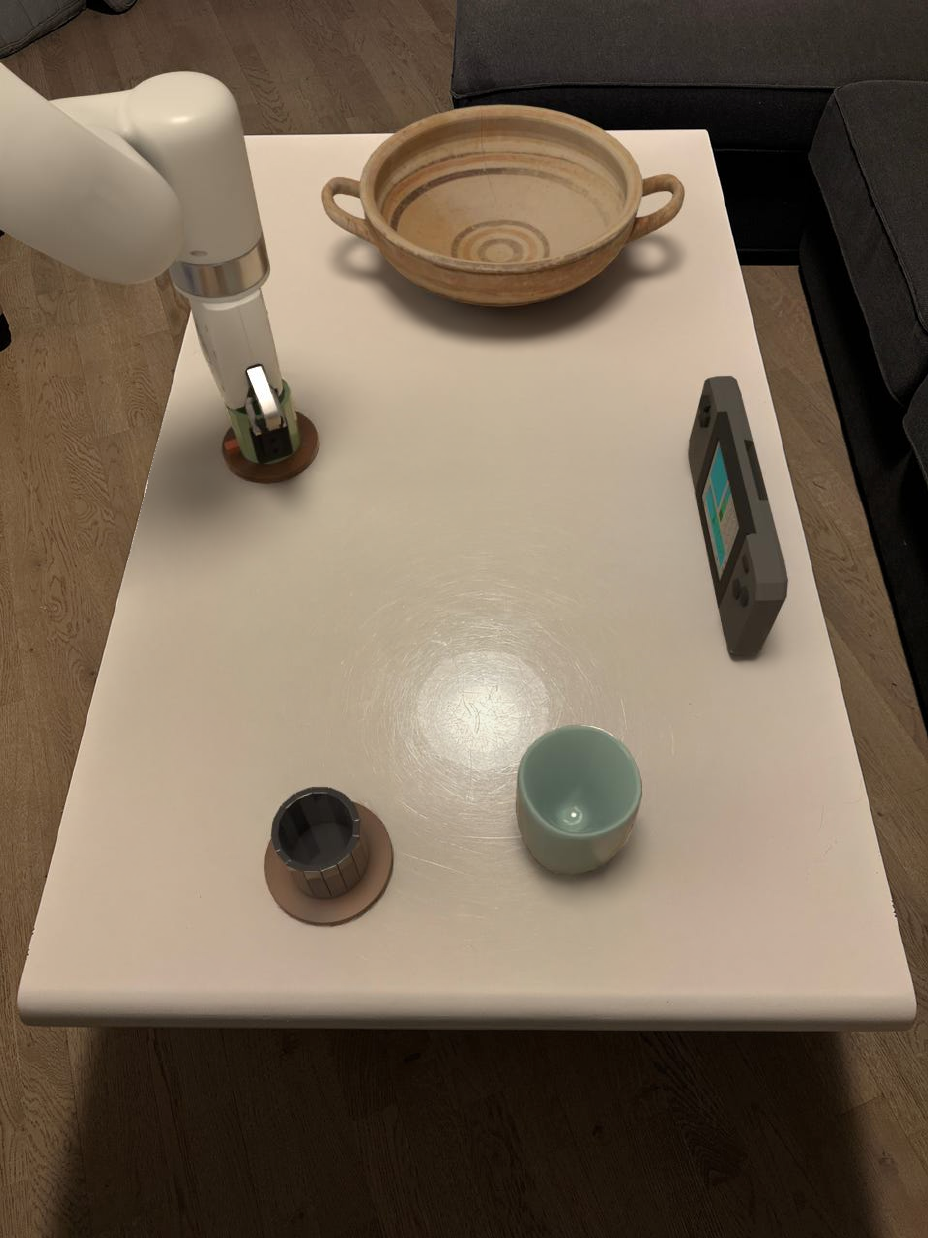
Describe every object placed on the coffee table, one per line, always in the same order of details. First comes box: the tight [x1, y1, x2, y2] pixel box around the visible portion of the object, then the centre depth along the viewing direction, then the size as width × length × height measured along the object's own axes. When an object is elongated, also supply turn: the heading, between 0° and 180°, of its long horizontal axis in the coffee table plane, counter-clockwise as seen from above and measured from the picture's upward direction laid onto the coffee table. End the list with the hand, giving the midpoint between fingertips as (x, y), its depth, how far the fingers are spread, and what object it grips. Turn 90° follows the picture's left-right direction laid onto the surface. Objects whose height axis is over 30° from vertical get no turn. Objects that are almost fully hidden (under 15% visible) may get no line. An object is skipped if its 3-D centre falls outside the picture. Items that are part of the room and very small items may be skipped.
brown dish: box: [221, 410, 320, 484], centre depth 88 cm, size 9×9×1 cm
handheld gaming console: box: [688, 375, 789, 655], centre depth 77 cm, size 23×3×10 cm, turn 1°
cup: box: [515, 724, 643, 876], centre depth 63 cm, size 8×8×10 cm
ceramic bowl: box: [320, 103, 686, 307], centre depth 99 cm, size 37×29×10 cm
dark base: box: [263, 800, 394, 927], centre depth 66 cm, size 9×9×1 cm
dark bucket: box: [270, 786, 369, 899], centre depth 64 cm, size 6×7×6 cm
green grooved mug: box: [223, 378, 301, 464], centre depth 86 cm, size 6×7×6 cm
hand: (258, 421), depth 86 cm, fingers open, 9 cm apart
